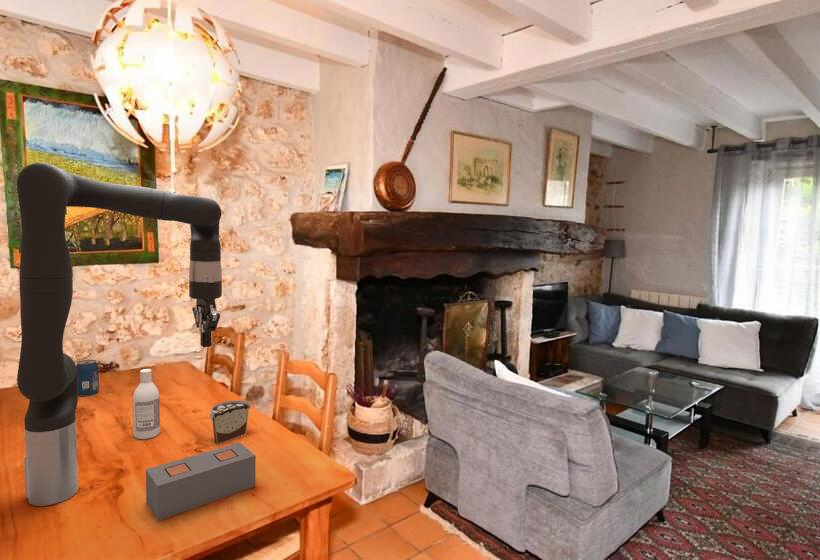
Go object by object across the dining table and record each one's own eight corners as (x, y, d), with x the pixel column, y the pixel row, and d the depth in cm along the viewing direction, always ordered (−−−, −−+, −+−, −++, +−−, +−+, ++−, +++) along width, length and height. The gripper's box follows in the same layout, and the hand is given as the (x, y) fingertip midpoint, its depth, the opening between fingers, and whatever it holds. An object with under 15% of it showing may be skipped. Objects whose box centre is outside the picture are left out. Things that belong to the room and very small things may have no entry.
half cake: (239, 427, 149) (239, 396, 148) (250, 433, 145) (250, 402, 144) (201, 439, 140) (201, 407, 139) (212, 446, 136) (212, 413, 135)
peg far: (220, 490, 113) (220, 460, 112) (214, 483, 116) (214, 454, 115) (237, 485, 116) (237, 455, 115) (230, 478, 118) (230, 449, 118)
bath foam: (163, 435, 141) (162, 370, 139) (138, 442, 136) (136, 375, 134) (155, 427, 146) (154, 365, 144) (130, 434, 141) (129, 369, 139)
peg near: (171, 508, 105) (171, 476, 105) (166, 500, 108) (165, 468, 107) (190, 501, 108) (190, 470, 107) (184, 493, 111) (184, 463, 110)
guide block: (157, 521, 101) (157, 486, 100) (146, 502, 108) (145, 469, 107) (255, 486, 116) (255, 455, 115) (240, 471, 123) (240, 442, 122)
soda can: (78, 391, 173) (77, 359, 172) (100, 389, 176) (99, 358, 175) (74, 398, 167) (73, 365, 166) (97, 395, 170) (96, 363, 169)
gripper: (181, 276, 120) (181, 343, 122) (199, 282, 110) (200, 354, 112) (211, 275, 125) (211, 339, 127) (231, 281, 115) (231, 350, 117)
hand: (206, 346), depth 119 cm, fingers closed
